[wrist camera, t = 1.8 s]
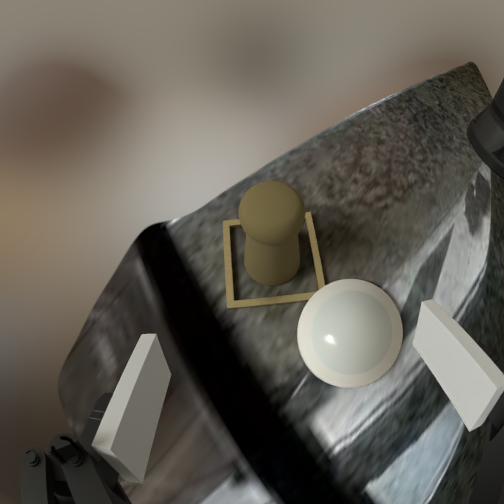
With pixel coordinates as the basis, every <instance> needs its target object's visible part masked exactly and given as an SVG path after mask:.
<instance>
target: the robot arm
mask: <svg viewBox="0 0 504 504" xmlns="http://www.w3.org/2000/svg"><path fill="white" fill-rule="evenodd" d="M467 134H468V138H469V140H470V142H471V144H472V146H473V148H474V149H475V151H476V152H477V153H478V155H479V156H480V157H481V158H482V160H483V161H484V162H485V163H486V164H487V165H488V166H489V167H490V168H491V169H492V170H493V171H494V172H496V173H497V174H498V175H499V176H501V177H502V178H504V79H503V81H502V83H501V85H500V87H499V89H498V91H497V93H496V94H495V96H494V98H493V100H492V102H491V104H490V105H489V106H488V107H487V108H486V109H485V110H483V111H482V112H481V113H480V114H478V115H477V116H476V117H474V118H473V119H472V121H471V123H470V124H469V126H468V128H467ZM412 344H413V346H414V347H415V349H416V350H417V351H418V353H419V354H420V356H421V357H422V359H423V360H424V361H425V363H426V364H427V366H428V367H429V369H430V370H431V372H432V373H433V375H434V376H435V378H436V379H437V381H438V382H439V384H440V385H441V387H442V388H443V390H444V391H445V393H446V394H447V396H448V397H449V399H450V401H451V402H452V404H453V405H454V407H455V409H456V410H457V412H458V413H459V415H460V417H461V418H462V420H463V422H464V423H465V425H466V427H467V428H468V430H469V432H470V431H472V430H473V429H475V428H477V427H479V426H481V425H482V424H483V422H484V421H485V419H486V418H487V416H488V417H489V419H490V421H489V423H488V424H487V425H486V427H485V428H484V430H483V431H482V432H481V435H480V436H483V434H484V433H485V432H486V430H487V432H486V435H485V437H486V438H485V444H484V449H483V454H482V458H481V463H480V467H479V471H478V475H477V478H476V482H475V485H474V489H473V492H472V495H471V498H470V501H469V504H504V364H503V363H502V362H501V361H499V359H498V358H497V356H496V355H494V353H493V352H492V351H491V350H490V349H489V348H488V347H487V346H485V345H484V344H482V343H480V342H479V343H476V342H475V341H474V340H473V339H472V338H471V337H470V336H469V335H468V334H467V333H466V332H465V331H464V330H463V329H462V327H461V326H460V325H459V324H458V323H457V322H456V321H455V320H454V319H453V318H452V317H451V316H450V315H449V314H448V313H447V312H446V311H445V310H444V309H443V308H442V307H441V306H440V305H439V304H438V303H437V302H436V301H435V300H434V299H432V300H427V301H423V302H422V304H421V309H420V314H419V318H418V323H417V327H416V331H415V335H414V339H413V343H412ZM170 377H171V373H170V371H169V368H168V365H167V363H166V360H165V357H164V355H163V352H162V349H161V346H160V343H159V341H158V338H157V335H156V334H142V335H141V337H140V339H139V341H138V343H137V345H136V347H135V349H134V351H133V353H132V355H131V357H130V359H129V361H128V364H127V366H126V368H125V370H124V372H123V374H122V376H121V378H120V381H119V383H118V385H117V387H116V389H115V392H114V394H112V393H104V394H103V395H102V396H101V397H100V398H99V399H98V400H97V402H96V404H95V406H94V409H93V411H92V413H91V415H90V419H88V421H87V424H86V426H85V428H84V430H83V432H82V435H81V437H80V439H79V441H78V440H77V439H76V438H75V437H74V436H72V435H71V434H67V433H63V434H59V435H57V436H55V437H54V438H53V439H52V440H51V441H50V444H49V446H48V451H49V453H50V454H51V455H46V454H45V453H44V452H43V451H42V450H41V449H40V448H37V447H32V448H29V449H27V450H26V451H25V452H24V454H23V455H22V459H21V504H132V503H131V502H130V500H129V499H128V497H127V495H126V494H125V492H124V490H123V488H122V487H121V485H120V483H119V482H118V481H117V480H118V476H119V475H120V476H121V477H122V478H124V479H125V480H127V481H132V482H137V483H143V479H144V475H145V471H146V467H147V463H148V459H149V455H150V451H151V447H152V443H153V439H154V435H155V431H156V427H157V424H158V420H159V416H160V413H161V409H162V405H163V402H164V398H165V395H166V391H167V387H168V384H169V381H170Z"/></svg>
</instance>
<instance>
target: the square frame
mask: <svg viewBox="0 0 504 504" xmlns="http://www.w3.org/2000/svg"><path fill="white" fill-rule="evenodd" d="M304 221H305V222H306V227H307V232H308V237H309V243H310V248H311V253H312V259H313V264H314V270H315V276H316V282H317V288H318V290H320V289H321V288H323V287H324V286H325V282H324V277H323V271H322V266H321V260H320V255H319V250H318V245H317V240H316V235H315V230H314V226H313V221H312V216H311V212H306V214H305V220H304ZM237 227H242V226H241V223H240V220H239V219H236V220H227V221H223V236H224V257H225V276H226V294H227V308H228V309H239V308H250V307H260V306H270V305H279V304H288V303H296V302H304V301H309V299H310V298H311V297H312V296H313V295H314V294H315V293H316V292H310V293H302V294H294V295H285V296H276V297H267V298H257V299H247V300H236V301H235V300H234V286H233V270H232V254H231V238H230V228H237Z"/></svg>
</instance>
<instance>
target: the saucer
mask: <svg viewBox="0 0 504 504" xmlns="http://www.w3.org/2000/svg"><path fill="white" fill-rule="evenodd" d="M402 338H403V328H402V321H401V317H400V314H399V311H398V309H397V307H396V305H395V304H394V302H393V301H392V299H391V298H390V297H389V296H388V295H387V294H386V293H385V292H384V291H383V290H382V289H380V288H379V287H377V286H376V285H374V284H372V283H369V282H366V281H363V280H358V279H344V280H339V281H335V282H332V283H330V284H328V285H326V286H324V287H323V288H321V289H320V290H318V291H317V292H316V293H315V294H314V295H313V296H312V297H311V298H310V299H309V301H308V302H307V304H306V305H305V307H304V309H303V311H302V313H301V316H300V319H299V323H298V327H297V343H298V349H299V352H300V355H301V357H302V359H303V361H304V363H305V364H306V366H307V367H308V369H309V370H310V371H311V372H312V373H313V374H314V375H315V376H316V377H318V378H319V379H321V380H322V381H324V382H326V383H328V384H330V385H334V386H338V387H345V388H355V387H361V386H364V385H368V384H370V383H372V382H374V381H376V380H377V379H379V378H380V377H382V376H383V375H384V374H385V373H386V372H387V371H388V370H389V369H390V368H391V366H392V365H393V364H394V362H395V360H396V358H397V357H398V354H399V352H400V349H401V345H402Z"/></svg>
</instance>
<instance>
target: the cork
mask: <svg viewBox="0 0 504 504" xmlns="http://www.w3.org/2000/svg"><path fill="white" fill-rule="evenodd" d="M305 214H306V210H305V206H304V202H303V199H302V197H301V196H300V194H299V193H298V192H297V191H296V190H295V189H294V188H292V187H291V186H290V185H288V184H286V183H284V182H280V181H274V180H271V181H263V182H261V183H258V184H256V185H254V186H253V187H251V188H250V189H249V190H248V191H247V192H246V193H245V194H244V196H243V197H242V199H241V203H240V206H239V220H240V223H241V226H242V228H243V230H244V231H245V233H246V243H245V253H244V265H245V268H246V270H247V273H248V274H249V275H250V276H251V278H252V279H253V280H255V281H256V282H258V283H260V284H262V285H267V286H278V285H282V284H284V283H286V282H288V281H290V280H291V279H292V278H293V277H294V276H295V275H296V273H297V271H298V269H299V266H300V250H299V240H298V233H299V232H300V230H301V228H302V227H303V225H304V220H305Z"/></svg>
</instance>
